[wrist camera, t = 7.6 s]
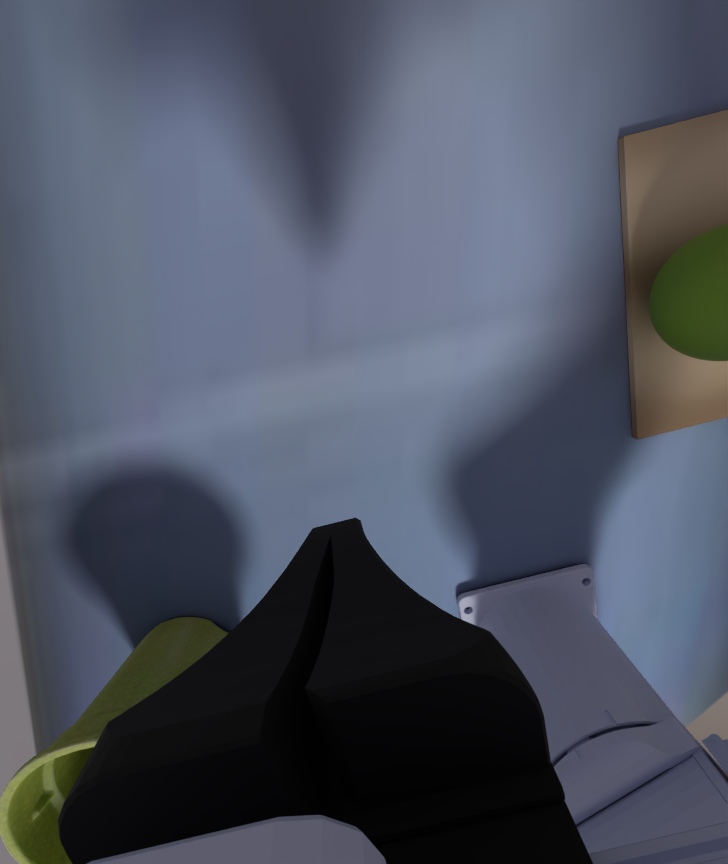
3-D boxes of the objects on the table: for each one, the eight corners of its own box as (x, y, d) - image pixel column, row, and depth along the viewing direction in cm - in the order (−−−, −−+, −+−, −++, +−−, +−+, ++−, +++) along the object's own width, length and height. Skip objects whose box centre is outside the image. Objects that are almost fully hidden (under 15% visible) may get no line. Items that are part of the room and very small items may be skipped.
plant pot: (89, 600, 24) (-44, 762, 15) (257, 579, 24) (214, 727, 16) (135, 724, 27) (43, 916, 18) (284, 703, 27) (261, 884, 18)
